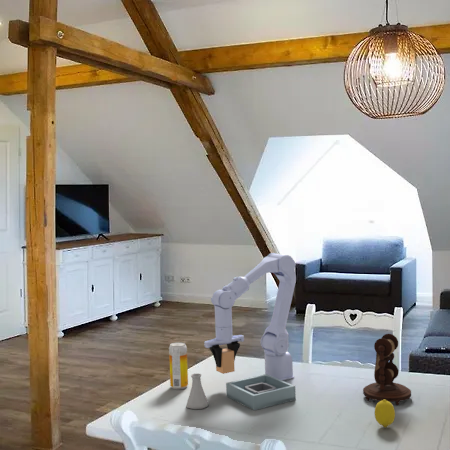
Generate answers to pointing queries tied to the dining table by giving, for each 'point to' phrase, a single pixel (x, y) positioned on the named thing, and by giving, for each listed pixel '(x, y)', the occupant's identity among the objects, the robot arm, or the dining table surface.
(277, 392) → the socket box
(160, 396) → the dining table surface
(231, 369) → the plug
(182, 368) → the beer can
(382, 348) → the brown tall knobby piece
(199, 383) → the flask
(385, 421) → the lemon
